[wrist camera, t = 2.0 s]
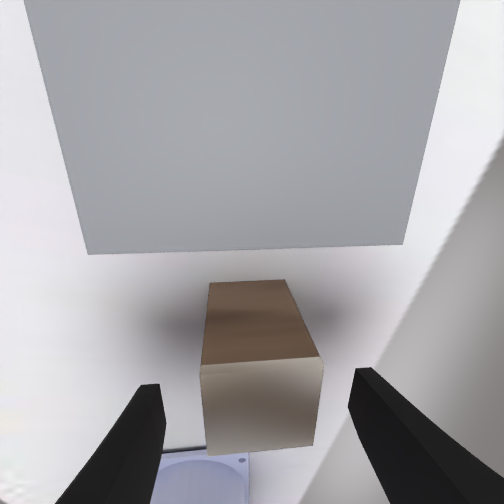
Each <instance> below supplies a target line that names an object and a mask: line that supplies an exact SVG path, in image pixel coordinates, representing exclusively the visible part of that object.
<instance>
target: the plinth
mask: <svg viewBox="0 0 504 504" xmlns="http://www.w3.org/2000/svg"><path fill="white" fill-rule="evenodd" d="M24 4H25V8H26V12H27V16H28V20H29V24H30V28H31V32H32V36H33V40H34V44H35V47H36V51H37V55H38V59H39V63H40V67H41V71H42V75H43V79H44V83H45V87H46V91H47V95H48V99H49V103H50V107H51V111H52V115H53V119H54V123H55V127H56V131H57V135H58V138H59V142H60V146H61V150H62V154H63V158H64V162H65V166H66V170H67V174H68V178H69V182H70V186H71V190H72V194H73V198H74V202H75V206H76V210H77V214H78V218H79V222H80V226H81V230H82V233H83V237H84V241H85V245H86V249H87V253H88V255H95V254H126V253H157V252H189V251H220V250H251V249H282V248H313V247H344V246H375V245H403V241H404V237H405V232H406V228H407V224H408V220H409V215H410V211H411V207H412V203H413V198H414V194H415V190H416V186H417V181H418V177H419V173H420V169H421V165H422V160H423V156H424V152H425V148H426V143H427V139H428V135H429V131H430V126H431V122H432V118H433V114H434V109H435V105H436V101H437V97H438V93H439V88H440V84H441V80H442V76H443V71H444V67H445V63H446V59H447V54H448V50H449V46H450V42H451V37H452V33H453V29H454V25H455V20H456V16H457V12H458V8H459V4H460V0H24Z"/></svg>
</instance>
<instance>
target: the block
mask: <svg viewBox="0 0 504 504" xmlns="http://www.w3.org/2000/svg"><path fill="white" fill-rule="evenodd" d="M323 371H324V364H323V362H322V360H321V358H320V355H319V353H318V351H317V349H316V347H315V345H314V342H313V340H312V338H311V336H310V334H309V332H308V329H307V327H306V325H305V323H304V321H303V319H302V316H301V314H300V312H299V310H298V308H297V305H296V303H295V301H294V299H293V297H292V295H291V292H290V290H289V288H288V286H287V284H286V282H285V280H264V281H241V282H218V283H210V286H209V295H208V304H207V313H206V322H205V331H204V340H203V349H202V358H201V367H200V385H201V396H202V406H203V416H204V427H205V437H206V448H207V457H210V456H219V455H229V454H238V453H248V452H257V451H267V450H276V449H286V448H295V447H304V446H313V442H314V435H315V428H316V421H317V414H318V406H319V399H320V392H321V385H322V378H323Z"/></svg>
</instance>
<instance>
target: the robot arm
mask: <svg viewBox="0 0 504 504" xmlns="http://www.w3.org/2000/svg"><path fill="white" fill-rule="evenodd" d="M348 409H349V412H350V415H351V418H352V420H353V423H354V426H355V429H356V431H357V434H358V436H359V439H360V441H361V443H362V445H363V448H364V450H365V452H366V454H367V456H368V458H369V460H370V462H371V464H372V466H373V468H374V471H375V473H376V475H377V477H378V479H379V481H380V483H381V485H382V487H383V489H384V491H385V494H386V496H387V498H388V500H389V502H390V504H504V478H503V477H501V476H500V475H499V474H497V473H496V472H495V471H493V470H492V469H491V468H489V467H488V466H487V465H485V464H484V463H483V462H481V461H480V460H479V459H478V458H476V457H475V456H474V455H472V454H471V453H470V452H469V451H467V450H466V449H465V448H464V447H462V446H461V445H460V444H459V443H457V442H456V441H455V440H454V439H452V438H451V437H450V436H448V435H447V434H446V433H445V432H444V431H443V430H441V429H440V428H439V427H438V426H437V425H436V424H434V423H433V422H432V421H431V420H430V419H428V418H427V417H426V416H425V415H424V414H422V412H420V411H419V410H418V409H417V408H416V407H415V406H414V405H412V404H411V403H410V402H409V401H408V400H407V399H405V397H404V396H402V395H401V394H400V393H399V392H398V391H397V390H396V389H394V387H392V386H391V385H390V384H389V383H388V382H387V381H386V380H385V379H384V378H383V377H381V376H380V375H379V374H378V373H377V372H376V371H375V370H374V369H372V368H371V367H369V368H356V369H355V374H354V379H353V384H352V388H351V393H350V398H349V403H348ZM165 430H166V418H165V412H164V407H163V401H162V396H161V390H160V384H147V385H141V386H140V387H139V388H138V389H137V391H136V393H135V394H134V396H133V397H132V399H131V400H130V402H129V403H128V405H127V406H126V408H125V409H124V411H123V412H122V414H121V415H120V417H119V418H118V420H117V421H116V423H115V424H114V426H113V427H112V429H111V430H110V431H109V433H108V434H107V436H106V437H105V438H104V440H103V441H102V443H101V444H100V445H99V447H98V448H97V449H96V451H95V452H94V454H93V455H92V456H91V458H90V459H89V460H88V462H87V463H86V464H85V466H84V467H83V468H82V470H81V471H80V472H79V473H78V475H77V476H76V477H75V479H74V480H73V481H72V482H71V484H70V485H69V486H68V488H67V489H66V490H65V492H64V493H63V494H62V495H61V497H60V498H59V499H58V500H57V502H56V503H55V504H249V452H248V453H238V454H229V455H219V456H210V457H207V449H205V450H195V451H185V452H175V453H166V454H162V449H163V443H164V436H165Z"/></svg>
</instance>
